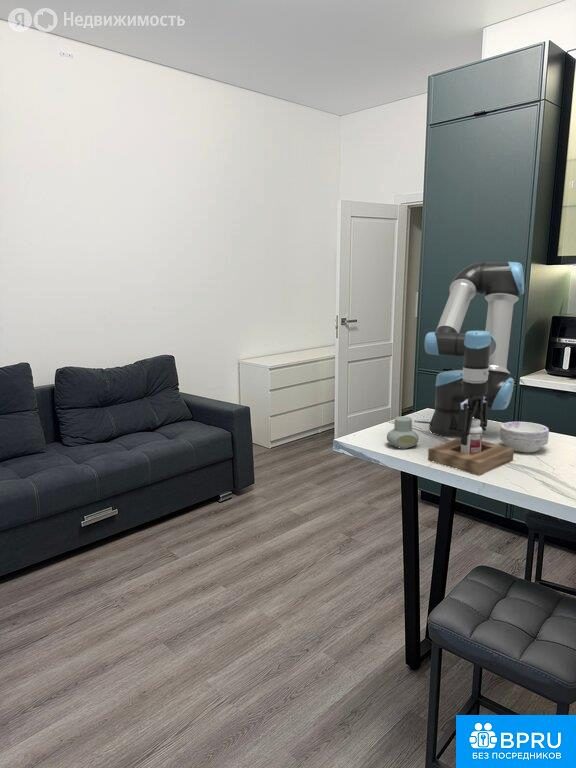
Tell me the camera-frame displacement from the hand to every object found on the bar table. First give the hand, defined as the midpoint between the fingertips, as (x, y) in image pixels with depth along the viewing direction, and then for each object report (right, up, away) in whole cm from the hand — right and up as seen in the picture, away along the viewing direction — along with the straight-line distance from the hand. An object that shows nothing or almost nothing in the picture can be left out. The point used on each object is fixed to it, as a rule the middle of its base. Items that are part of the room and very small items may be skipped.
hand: (470, 451), depth 175 cm
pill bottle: (0, -1, 0) cm, 1 cm away
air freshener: (-19, 0, +16) cm, 25 cm away
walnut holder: (0, -3, 0) cm, 3 cm away
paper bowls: (+22, -1, +12) cm, 25 cm away
